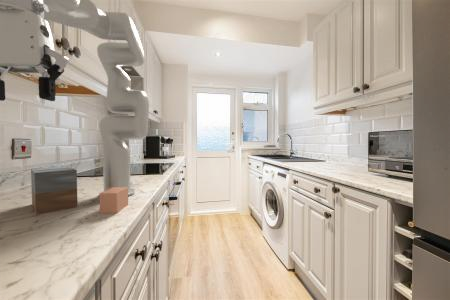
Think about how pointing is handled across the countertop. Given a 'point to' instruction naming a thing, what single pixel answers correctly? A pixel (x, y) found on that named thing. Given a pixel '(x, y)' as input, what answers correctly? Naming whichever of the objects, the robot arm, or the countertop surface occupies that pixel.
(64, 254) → the countertop surface
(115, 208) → the terracotta brick
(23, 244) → the countertop surface
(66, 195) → the shiny metal block
